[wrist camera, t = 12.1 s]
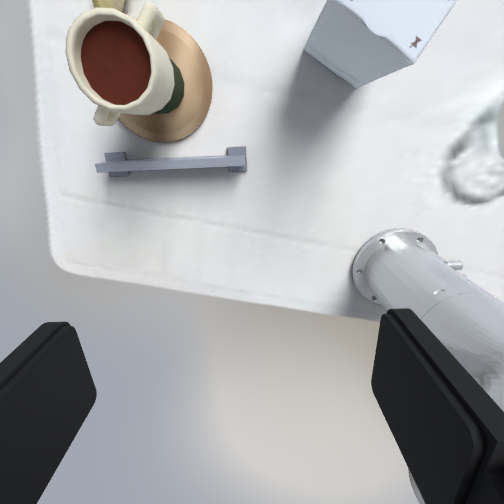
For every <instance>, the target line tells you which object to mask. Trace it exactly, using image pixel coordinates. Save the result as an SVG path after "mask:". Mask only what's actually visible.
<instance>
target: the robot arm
mask: <svg viewBox="0 0 504 504" xmlns="http://www.w3.org/2000/svg"><path fill="white" fill-rule="evenodd" d="M380 239H381V240H380ZM379 240H380V241H379ZM462 267H463V264H462V262H461V261H446V260H444V259H442V258H441V257H439V256H438V252H437V250H436V247H435V245H434V244H433V243H432V241H431V240H430V239H428V238H427V237H426V236H424V235H423V234H421V233H419V232H417V231H414V230H410V229H393V230H388V231H385V232H383V233H380V234H378V235H377V236H375V237H373V238H372V239H371V240H369V241H368V242H367V243H366V244H365V245H364V246H363V247H362V248H361V250H360V251H359V253H358V254H357V256H356V258H355V261H354V264H353V270H352V274H353V280H354V284H355V286H356V287H357V289H358V291H359V292H360V293H361V295H363V296H364V297H365V298H366V299H367V300H369V301H371V302H373V303H377V304H380V305H382V306H383V307H384V308H385V310H386V311H387V314H383V315H382V316H381V321H380V328H379V335H378V341H377V348H376V354H375V360H374V367H373V374H372V380H371V385H372V390H373V393H374V395H375V397H376V399H377V402H378V404H379V406H380V408H381V410H382V412H383V415H384V417H385V419H386V421H387V423H388V425H389V427H390V430H391V432H392V433H393V436H394V438H395V440H396V442H397V444H398V446H399V449H400V451H401V453H402V455H403V457H404V459H405V461H406V463H407V466H408V470H409V477H410V482H411V485H412V487H413V490H414V493H415V495H416V497H417V500H418V501H419V503H420V504H504V303H503V302H501V301H500V300H499V299H497V298H495V297H494V296H492V295H491V294H490V293H488V292H487V291H485V290H484V289H482V288H481V287H479V286H478V285H476V284H475V283H473V282H472V281H470V280H469V279H468V278H467V276H466V275H465V274H460V273H459V272H457V271H456V270H461V269H462ZM358 269H359V270H358ZM95 400H96V388H95V385H94V382H93V379H92V376H91V374H90V371H89V368H88V365H87V362H86V359H85V356H84V353H83V350H82V347H81V344H80V341H79V338H78V335H77V333H76V330H75V328H74V327H72V326H70V324H69V323H68V322H47V323H44V324H42V325H41V326H40V327H39V328H38V329H37V330H36V331H34V332H33V333H32V334H31V335H30V336H29V337H28V338H27V339H26V340H25V341H24V342H22V343H21V345H19V346H18V347H17V348H16V349H15V350H14V351H13V352H12V353H11V354H10V355H8V356H7V357H6V358H5V359H4V360H3V361H2V362H1V363H0V504H37V502H38V500H39V499H40V497H41V495H42V493H43V492H44V490H45V488H46V487H47V485H48V483H49V481H50V480H51V478H52V476H53V474H54V473H55V471H56V469H57V467H58V466H59V464H60V462H61V460H62V459H63V457H64V455H65V453H66V452H67V450H68V448H69V446H70V445H71V443H72V441H73V440H74V438H75V436H76V434H77V432H78V431H79V429H80V427H81V426H82V423H83V422H84V420H85V418H86V417H87V415H88V413H89V412H90V410H91V408H92V406H93V405H94V403H95Z"/></svg>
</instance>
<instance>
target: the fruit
mask: <svg viewBox="0 0 504 504" xmlns="http://www.w3.org/2000/svg"><path fill="white" fill-rule="evenodd" d="M92 1H93V4H94V7H98V8H114V9H116V10H118V11H120V12H123V8H124V3H125V0H92Z"/></svg>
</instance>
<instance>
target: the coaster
mask: <svg viewBox="0 0 504 504" xmlns="http://www.w3.org/2000/svg"><path fill="white" fill-rule="evenodd" d="M136 21H137V19H136ZM156 40H157V41H158V43H159V44H160V45H161V46H162V47H163V48H164V49H165V50H166V52H167V55H168V57H169V58H171V59H172V61H173V62H174V63H175V64H176V65H177V67H178V68H179V69H180V71H181V74H182V77H183V80H184V83H185V84H184V97H183V99H182V101H181V103H180V104H179V106H178V108H176V109H174V110H173V111H171V112H170V113H166V114H155V113H152V114H149V115H134V114H127V113H121V114H120V116H119V120H120V121H121V122H122V123H123V124H124V125H125V126H126V127H127V128H128V129H130V130H131V131H132V132H134V133H135V134H137V135H139V136H140V137H143V138H145V139H148V140H151V141H156V142H172V141H177V140H180V139H182V138H185V137H187V136H188V135H190V134H191V133H193V132H194V131H195V130H196V129H197V128H198V127H199V126H200V125H201V123H202V122H203V120H204V119H205V117H206V115H207V113H208V110H209V107H210V104H211V99H212V78H211V72H210V68H209V65H208V62H207V60H206V57H205V56H204V54H203V52H202V50H201V48H200V47H199V45H198V44H197V42H196V41H195V40H194V39H193V38H192V37H191V35H189V34H188V33H187V32H186V31H185V30H184V29H182V28H181V27H180V26H178V25H176V24H174V23H172V22H170V21H168V20H165V19H164V24H163V27H162V29H161V31H160V33H159V35H158V37H157V39H156Z"/></svg>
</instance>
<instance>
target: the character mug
mask: <svg viewBox="0 0 504 504" xmlns="http://www.w3.org/2000/svg"><path fill="white" fill-rule="evenodd" d="M163 24H164V17H163V15H162V13H161V12H160V11H159V9H158V8H157V7H156V5H155V4H154V3H151V2H146V3H145V5H144V7H143V8H142V10H141V13H140V15H139V17H138V19H137V21H136V20H135V19H134V18H132V17H130V16H128V15H126V14H124V13H122V12H120V11H118V10H116V9H114V8H98V7H95V8H93V9H91V10H88V11H86V12H84V13H81V14H80V15H79V16H78V17H77V18H76V19H75V20H74V22H73V23H72V25H71V26H70V28H69V30H68V34H67V38H66V57H67V61H68V65H69V70H70V72H71V74H72V76H73V78H74V80H75V81H76V83H77V85H78V87H79V89H80V90H81V91H82V92H83V93H84V94H85V95H86V96H87V97H88V98H89V99H90V100H91V101H92V102H93V103H95V104H97V105H98V108H97V110H96V112H95V115H94V119H93V120H94V121H95V123H96V124H97V125H101V126H113V125H114V124H115V123H116V122H117V120H118V118H119V116H120V114H121V113H127V114H134V115H149V114H152V113H155V114H166V113H170V112H171V111H173V110H174V109H176V108H178V106H179V104H180V103H181V101H182V99H183V97H184V84H185V83H184V80H183V77H182V74H181V71H180V69H179V68H178V67H177V65H176V64H175V63H174V62H173V61H172V59H171V58H169V57H168V55H167V52H166V50H165V49H164V48H163V47H162V46H161V45H160V44H159V43H158V41H157V40H156V39H157V37H158V35H159V33H160V31H161V29H162V27H163Z"/></svg>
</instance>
